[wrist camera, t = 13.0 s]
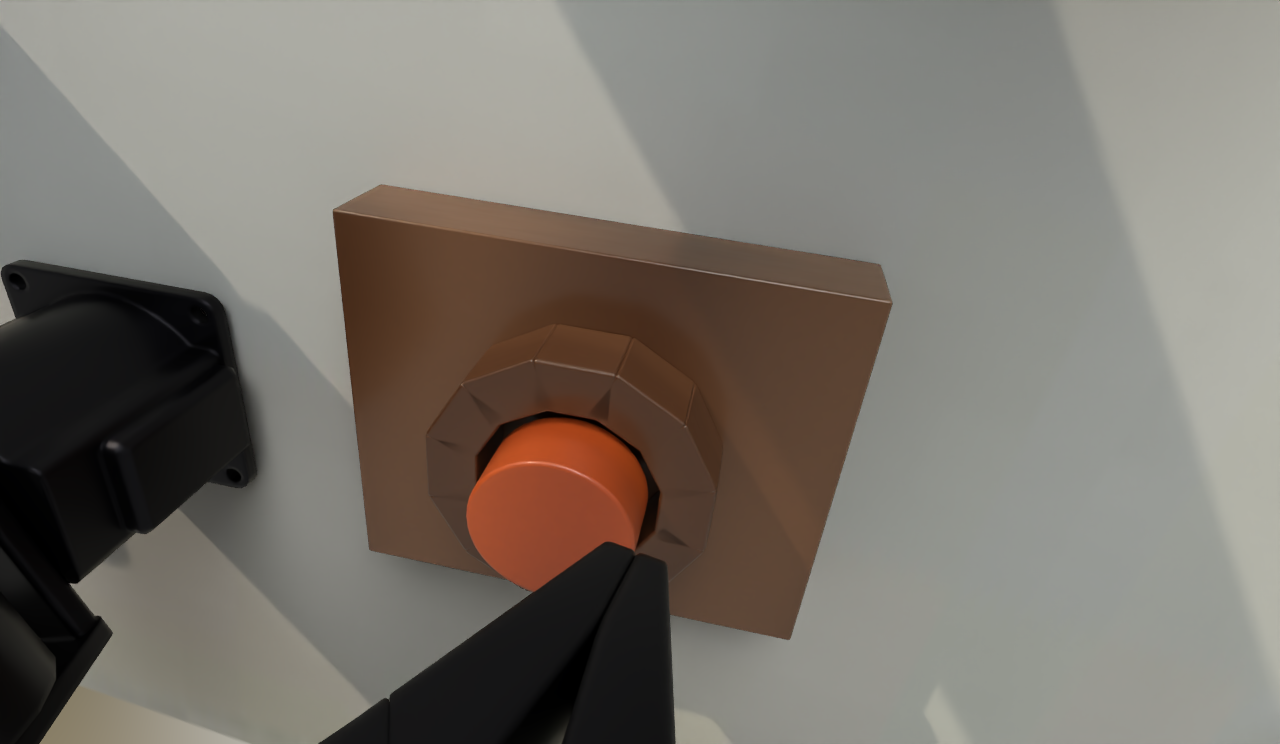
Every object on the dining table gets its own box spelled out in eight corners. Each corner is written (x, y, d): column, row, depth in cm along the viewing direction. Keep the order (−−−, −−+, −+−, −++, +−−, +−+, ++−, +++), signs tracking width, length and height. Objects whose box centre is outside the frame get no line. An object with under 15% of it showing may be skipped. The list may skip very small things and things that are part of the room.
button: (493, 527, 18) (465, 579, 16) (494, 401, 16) (463, 447, 14) (640, 557, 17) (626, 614, 16) (658, 432, 15) (644, 482, 14)
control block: (403, 502, 23) (334, 598, 19) (380, 183, 18) (281, 235, 14) (789, 581, 21) (790, 699, 18) (881, 263, 16) (906, 341, 13)
